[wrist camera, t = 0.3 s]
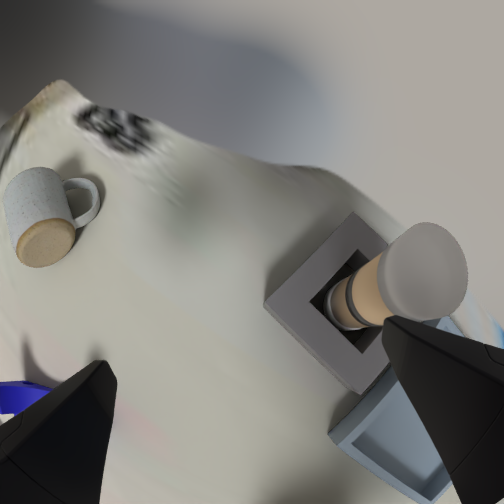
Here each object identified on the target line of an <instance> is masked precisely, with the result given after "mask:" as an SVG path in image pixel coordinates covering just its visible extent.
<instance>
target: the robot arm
mask: <svg viewBox="0 0 504 504" xmlns="http://www.w3.org/2000/svg"><path fill="white" fill-rule="evenodd" d="M381 341H382V345H383V348H384V350H385V352H386V354H387V356H388V358H389V361H390V363H391V365H392V367H393V370H394V372H395V374H396V376H397V378H398V381H399V382H400V384H401V386H402V388H403V389H404V391H405V393H406V395H407V396H408V398H409V400H410V402H411V403H412V405H413V407H414V409H415V411H416V412H417V414H418V416H419V418H420V420H421V421H422V423H423V425H424V427H425V429H426V431H427V433H428V434H429V436H430V438H431V440H432V442H433V444H434V446H435V448H436V450H437V452H438V454H439V456H440V458H441V460H442V462H443V464H444V466H445V468H446V470H447V472H448V474H449V475H450V476H449V477H450V479H451V481H452V483H453V485H454V487H455V490H456V492H457V494H458V496H459V499H460V501H461V503H462V504H496V503H497V502H499V501H500V500H501V499H503V498H504V349H501V348H497V347H494V346H491V345H488V344H483V343H481V342H478V341H475V340H472V339H469V338H466V337H462V336H459V335H456V334H453V333H450V332H447V331H444V330H441V329H438V328H435V327H432V326H429V325H425V324H422V323H419V322H416V321H413V320H410V319H407V318H404V317H401V316H398V315H393V316H389V317H386V318H385V319H384V322H383V329H382V337H381ZM116 392H117V379H116V377H115V375H114V373H113V371H112V369H111V367H110V365H109V364H108V362H107V361H105V360H95V361H93V362H92V363H90V364H89V365H87V366H86V367H85V368H83V369H82V370H80V371H79V372H77V373H76V374H75V375H73V376H72V377H70V378H69V379H67V380H66V381H65V382H63V383H62V384H60V385H59V386H57V387H56V388H54V389H53V390H52V391H50V392H49V393H47V394H46V395H44V396H43V397H42V398H40V399H39V400H37V401H36V402H34V403H33V404H32V405H30V406H29V407H27V408H26V409H25V410H24V411H21V412H20V413H19V414H17V415H16V416H14V417H13V418H11V419H10V420H8V421H7V422H5V423H3V424H2V425H1V426H0V504H99V502H100V493H101V486H102V479H103V472H104V466H105V460H106V454H107V449H108V443H109V438H110V433H111V429H112V423H113V417H114V408H115V399H116Z"/></svg>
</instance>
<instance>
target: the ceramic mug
mask: <svg viewBox="0 0 504 504" xmlns="http://www.w3.org/2000/svg"><path fill="white" fill-rule="evenodd" d="M75 188H85V189H88V190H90V192H91V194H92V197H93V201H92V208H91V209H90V210H88V212H86V213H84V214H83V215H81V216H80V217H77V218H75V219H73V217H72V214H71V211H70V208H69V205H68V201H67V197H66V194H65V191H67V190H70V189H75ZM3 205H4V210H5V215H6V220H7V225H8V229H9V233H10V238H11V242H12V245H13V248H14V251H15V253H16V255H17V257H18V258H19V260H20V261H21V262H22V263H23V264H25V265H27V266H29V267H34V268H39V267H45V266H49V265H51V264H54V263H56V262H57V261H59V260H60V259H62V258H63V257H64V256H65V255H66V254H67V253H68V252H69V250H70V249H71V247H72V245H73V243H74V240H75V230H76V229H77V228H80V227H82V226H84V225H86V224H87V223H88V222H90V221H91V220H92V219H93V218H94V217H95V216H96V215H97V213H98V211H99V207H100V198H99V192H98V189H97V187H96V185H95V184H94V183H93V182H92V181H91V180H88V179H85V178H71V179H67V180H63V181H62V180H61V178H60V177H59V175H58V174H57V173H56V172H55V171H53V170H52V169H49V168H45V167H36V168H30V169H28V170H25V171H23V172H21V173H19V174H18V175H17V176H16V177H14V178H13V179H12V180H11V181H10V183H9V184H8V186H7V188H6V190H5V192H4V197H3Z"/></svg>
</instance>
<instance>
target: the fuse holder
mask: <svg viewBox="0 0 504 504" xmlns="http://www.w3.org/2000/svg"><path fill="white" fill-rule="evenodd" d="M387 246H388V244H387V243H386V242H385V241H384V240H383V239H382V238H381V237H380V236H379V235H378V234H377V233H376V232H375V231H373V230H372V229H371V228H370V227H369V226H368V225H367V224H366V223H365V222H364V221H363V220H362V219H361V218H360V217H359V216H358V215H357V214H355V213H354V212H352V213H351V214H350V215H349V216H348V218H347V219H346V220H345V221H344V222H343V223H342V224H341V225H340V226H339V227H338V228H337V229H336V230H335V231H334V232H333V233H332V234H331V236H330V237H329V238H328V239H327V240H326V241H325V242H324V243H323V244H322V245H321V246H320V247H319V248H318V249H317V250H316V251H315V252H314V253H313V254H312V255H311V256H310V257H309V258H308V259H307V260H306V261H305V262H304V263H303V264H302V265H301V266H300V267H299V268H298V269H297V270H296V271H295V272H294V273H293V274H292V275H291V276H290V277H289V278H288V279H287V280H286V281H285V282H284V283H283V284H282V285H281V286H280V287H279V288H278V289H277V290H276V291H275V292H274V293H273V294H272V295H271V296H270V297H269V298H268V299H267V300H266V301H265V302H264V306H263V307H264V308H265V309H266V310H267V311H268V312H269V313H270V314H271V315H272V316H273V317H274V318H275V319H276V320H277V321H278V322H279V323H280V324H281V325H282V326H283V327H284V328H285V329H286V330H287V331H288V332H289V333H290V334H291V335H292V336H293V337H294V338H295V339H296V340H297V341H298V342H299V343H300V344H301V345H302V346H303V347H304V348H305V349H306V350H307V351H308V352H309V353H310V354H312V355H313V356H314V357H315V358H316V359H317V360H318V361H319V362H320V363H321V364H322V365H323V366H324V367H325V368H326V369H327V370H328V371H329V372H330V373H331V374H332V375H333V376H335V377H336V378H337V379H338V380H339V381H340V382H341V383H342V384H343V385H344V386H345V387H346V388H348V389H350V390H352V391H354V392H356V393H358V394H359V395H361V394H362V393H363V392H364V391H365V390H366V389H367V388H368V387H369V386H370V384H371V383H372V382H373V381H374V380H375V379H376V377H377V376H378V375H379V374H380V373H381V372H382V370H383V369H384V368H385V367H386V365H387V364H388V363H389V362H390V361H389V358H388V356H387V354H386V352H385V350H384V348H383V345H382V341H381V337H382V329H383V326H378V327H369V328H368V329H367V330H366V331H365V332H364V334H363V335H362V336H361V337H360V338H359V339H358V341H357V342H356V343H355V344H354V345H352V344H351V343H350V342H349V341H348V340H347V339H346V338H345V337H344V336H343V335H342V334H341V333H340V332H339V331H338V330H337V329H336V328H335V327H334V326H333V325H332V324H331V323H330V322H329V321H328V320H327V319H326V318H325V317H324V316H323V315H322V314H321V313H320V312H319V311H318V310H317V309H316V308H315V307H314V306H313V305H312V304H311V303H310V302H309V301H310V300H311V299H312V298H313V297H314V296H315V295H316V294H317V293H318V292H319V291H320V290H321V289H322V287H323V286H324V285H325V284H326V283H327V282H328V281H329V280H330V279H331V278H332V277H333V276H334V274H335V273H336V272H337V271H338V270H339V269H340V268H341V267H342V266H343V264H344V263H345V262H346V263H347V264H348V265H349V266H350V267H351V268H352V269H353V270H354V271H356V270H357V269H359V268H360V267H362V266H363V265H364V264H366V263H368V262H370V261H371V260H373V259H374V258H375V257H377V256H378V255H379V254H381V253H382V252H383V251H384V250H385V249H386V247H387Z"/></svg>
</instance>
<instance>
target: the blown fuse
mask: <svg viewBox="0 0 504 504" xmlns="http://www.w3.org/2000/svg"><path fill="white" fill-rule="evenodd" d="M467 284H468V271H467V264H466V260H465V256H464V254H463V251H462V249H461V247H460V245H459V244H458V242H457V241H456V239H455V238H454V237H453V236H452V235H451V234H450V233H449V232H448V231H447V230H446V229H444V228H443V227H441V226H439V225H437V224H434V223H428V222H427V223H419V224H416V225H414V226H412V227H411V228H409V229H408V230H407V231H406V232H404V233H403V234H402V235H401V236H399V237H398V238H397V239H396V240H394V241H393V242H392V243H391V244H389V245H388V246H387V247H386V249H385V250H384V251H383V252H382V253H381V254H379V255H378V256H377V257H375V258H374V259H373V260H371V261H370V262H368V263H366V264H364V265H363V266H362V267H360V268H359V269H357V270H356V271H355V272H354V273H353V274H352V275H350V276H349V277H347V278H345V279H343V280H341V281H339V282H338V283H337V284H335V285H334V286H332V287H331V288H330V289H329V290H328V292H327V293H326V295H325V298H324V301H323V311H324V315H325V317H326V319H327V320H328V321H329V322H330V323H331V324H332V325H333V326H334V327H335V328H337V329H339V330H345V331H347V330H357V329H361V328H364V327H378V326H383V322H384V319H385V318H386V317H389V316H393V315H398V316H401V317H404V318H407V319H410V320H413V321H416V322H419V321H425V320H431V319H437V318H442V317H446V316H448V315H450V314H451V313H453V312H454V311H455V310H456V309H457V308H458V307H459V306H460V304H461V302H462V301H463V299H464V296H465V293H466V290H467Z"/></svg>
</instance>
